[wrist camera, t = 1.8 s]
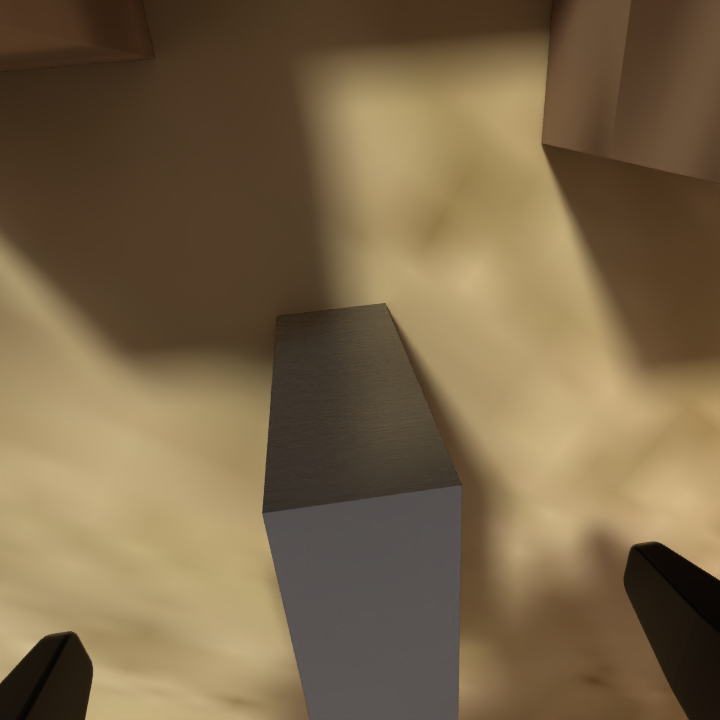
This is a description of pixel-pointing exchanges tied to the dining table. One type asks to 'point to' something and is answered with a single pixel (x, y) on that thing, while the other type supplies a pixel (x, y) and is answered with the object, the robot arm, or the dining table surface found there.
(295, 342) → the tall grey upright block
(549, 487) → the dining table surface
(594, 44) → the wooden hollow frame
